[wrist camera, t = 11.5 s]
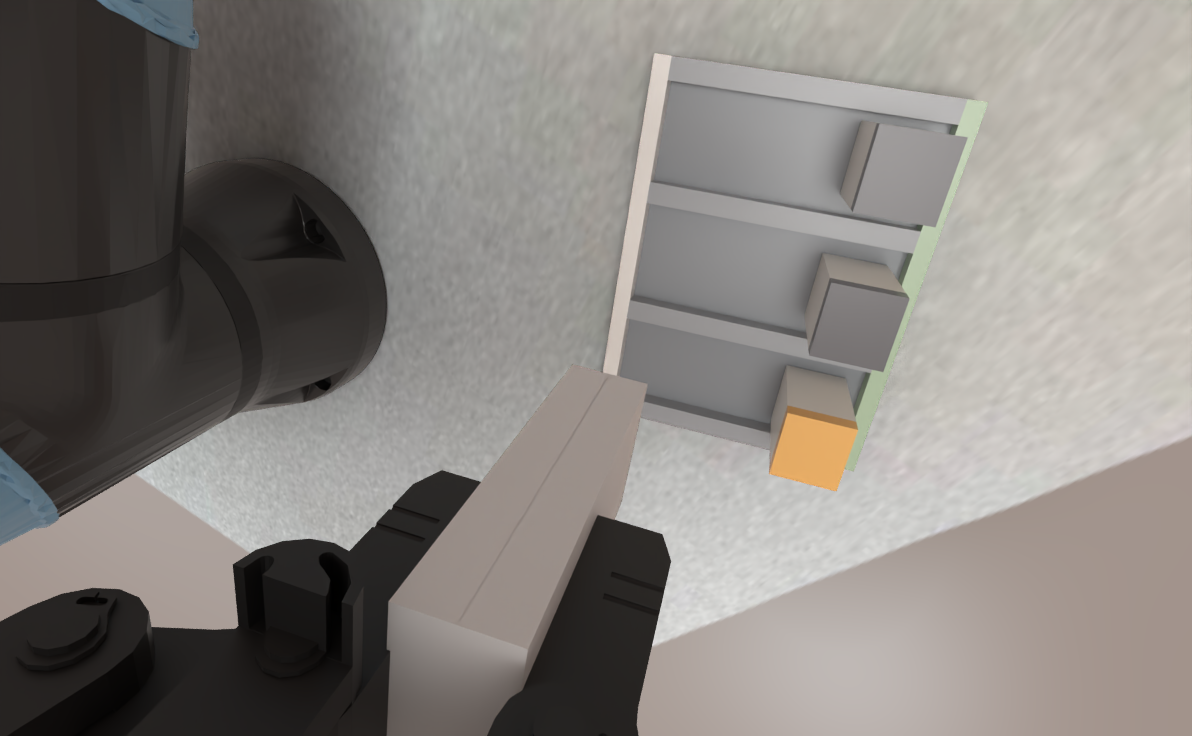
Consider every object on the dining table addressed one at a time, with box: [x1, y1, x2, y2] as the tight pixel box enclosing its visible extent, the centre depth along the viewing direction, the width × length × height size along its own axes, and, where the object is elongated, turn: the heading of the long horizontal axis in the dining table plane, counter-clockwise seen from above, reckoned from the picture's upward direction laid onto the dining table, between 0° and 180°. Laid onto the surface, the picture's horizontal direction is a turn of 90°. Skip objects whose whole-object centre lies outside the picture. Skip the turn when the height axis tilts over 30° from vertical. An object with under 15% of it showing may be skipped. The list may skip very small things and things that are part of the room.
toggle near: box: [840, 120, 968, 227], centre depth 26 cm, size 3×3×6 cm
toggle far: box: [769, 365, 858, 491], centre depth 31 cm, size 3×3×6 cm
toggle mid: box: [804, 253, 910, 372], centre depth 29 cm, size 3×3×6 cm
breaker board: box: [603, 53, 988, 471], centre depth 32 cm, size 14×18×2 cm
